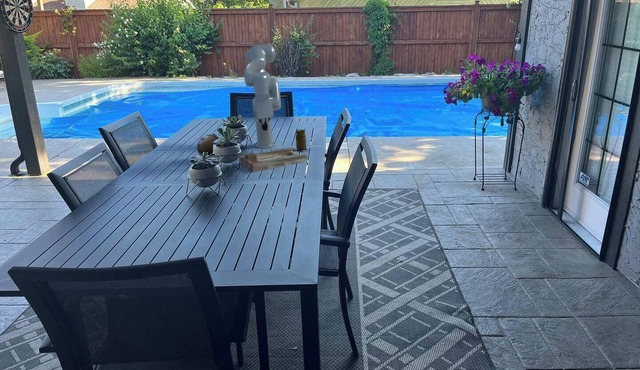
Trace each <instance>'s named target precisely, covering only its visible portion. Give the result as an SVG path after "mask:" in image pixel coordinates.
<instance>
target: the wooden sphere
mask: <svg viewBox="0 0 640 370" xmlns="http://www.w3.org/2000/svg"><path fill="white" fill-rule="evenodd" d="M218 138H220V137H218V136H217V135H216V134H205V135H204V136H202V137H201V138H200V139H199V140H198V142H197V146H196V149H197V150H196V151H197V152H198V155H199V156H200V155H202V154H203V152H208V155H210V154H212V153H213V142H214V141H215V140H216V139H218Z"/></svg>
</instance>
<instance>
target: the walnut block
mask: <svg viewBox="0 0 640 370" xmlns="http://www.w3.org/2000/svg"><path fill="white" fill-rule="evenodd" d="M256 154H257V153H255V152H249V153H245V154H244V156H245V158H246V159H248V160H249V161H251V162H257V156H256Z"/></svg>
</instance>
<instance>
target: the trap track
mask: <svg viewBox="0 0 640 370" xmlns="http://www.w3.org/2000/svg"><path fill="white" fill-rule="evenodd" d="M255 154H256V156H257V162H251V161H249V160H248V159H246V158H245V155H242V156H239V159H240V160H239V161H240V165H242V166H243V167H245V168H247V169H248V170H250V171H251V172H253V173H256V172H263V171H266V170H272V169H275V168H281V167H286V166H287V167H288V166H290V165H296V164H301V163H306V162H308V154H307V153H304V154H300V153H298V152H297V151H295V150H294V149H293V147H292V146H291V147H286V148H285V147H284V148H281V149H274V150H269V151H264V152H258V153H255Z"/></svg>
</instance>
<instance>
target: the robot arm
mask: <svg viewBox="0 0 640 370" xmlns="http://www.w3.org/2000/svg"><path fill="white" fill-rule="evenodd" d="M245 58H246V59H245V60H246V63H247V65H246V66H245V67H244V72H243V74H244V75H243V77H244V83H245V86H247V87H250V88H252V89H253V92H254V96H255V97H253V99H252V102H251V104H252V107H253V117H254V122H255V127H256V130H255V131H256V138H257V143H256V144H255V145H254V146H255V147H256V148H258V149H269V148H273V147H275V146H276V142H274V141H273V129H272V120H273V119H274V111H280V110H281V107H282V101H281V91H280V83H279V81H278V79H277V78H275V77H272V76H271V74H270V73H269V72H267V71H266V70H265V68H266V65H267V63H273V62H274V61H275V59H276V50H275V48H274V46H273V45H272V44H270V43H269V44H256V45H253V46H252V47H251V48H250V49H248V50H246V52H245Z"/></svg>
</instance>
